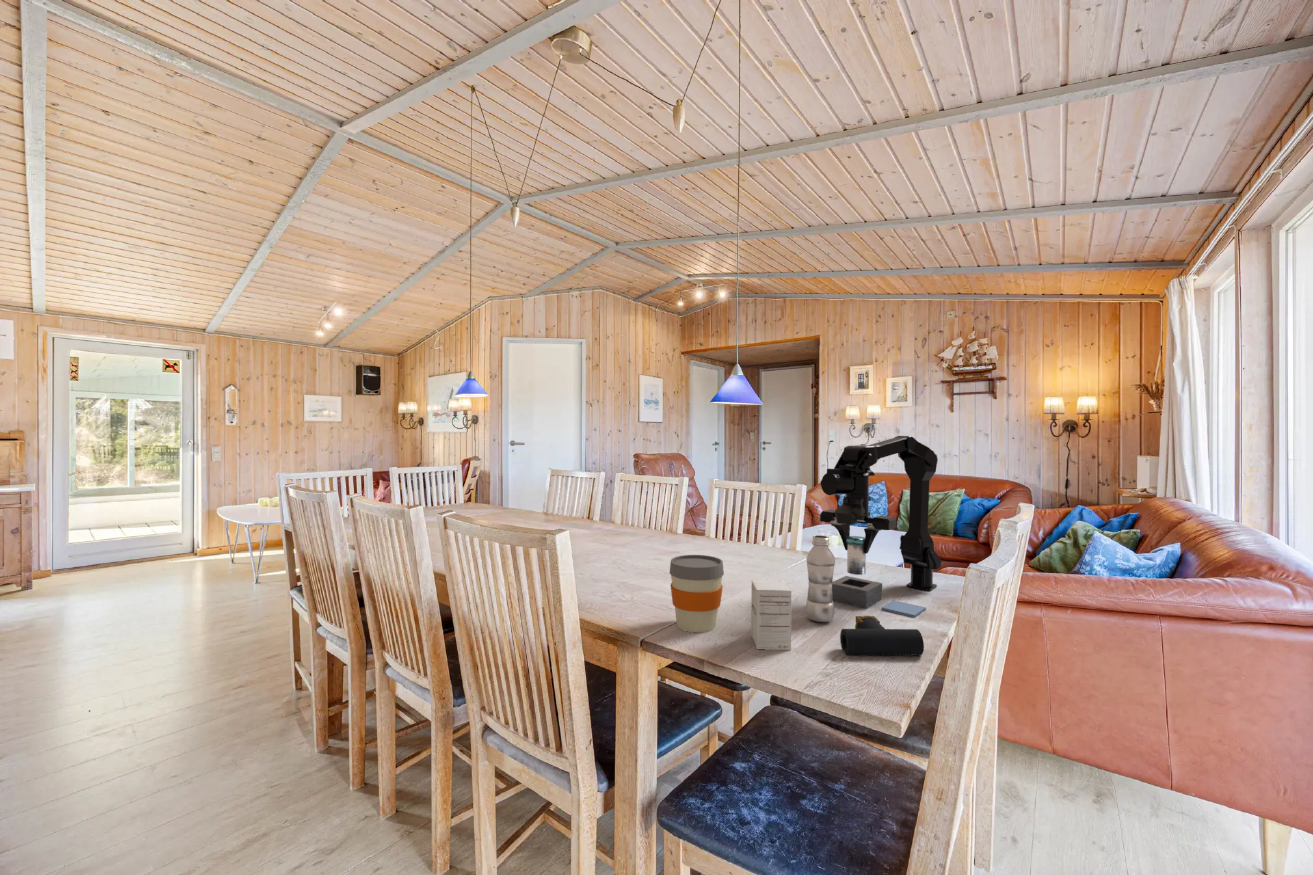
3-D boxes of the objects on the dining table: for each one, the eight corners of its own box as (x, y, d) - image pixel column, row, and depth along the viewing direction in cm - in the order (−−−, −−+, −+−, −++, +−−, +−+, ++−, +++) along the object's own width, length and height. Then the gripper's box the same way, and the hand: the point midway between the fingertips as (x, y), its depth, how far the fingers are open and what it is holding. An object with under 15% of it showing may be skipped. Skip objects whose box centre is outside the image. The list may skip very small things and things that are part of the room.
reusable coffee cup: (701, 640, 116) (701, 571, 116) (658, 625, 125) (658, 561, 125) (734, 624, 126) (734, 560, 125) (692, 612, 134) (692, 552, 134)
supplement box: (750, 636, 119) (750, 579, 118) (784, 636, 118) (784, 579, 118) (755, 650, 111) (756, 589, 111) (791, 650, 111) (792, 589, 111)
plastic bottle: (810, 613, 133) (811, 532, 133) (838, 619, 129) (839, 536, 129) (801, 621, 128) (801, 537, 128) (829, 627, 124) (830, 540, 124)
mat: (893, 602, 142) (893, 600, 142) (925, 609, 136) (925, 607, 136) (881, 609, 136) (881, 607, 136) (914, 617, 131) (914, 615, 131)
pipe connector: (830, 612, 119) (899, 613, 119) (830, 636, 120) (898, 636, 119) (848, 633, 108) (924, 634, 108) (848, 659, 108) (923, 660, 108)
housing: (845, 591, 151) (846, 575, 151) (881, 599, 144) (882, 583, 144) (829, 599, 144) (829, 583, 144) (866, 608, 137) (866, 591, 137)
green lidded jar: (851, 568, 147) (851, 535, 147) (869, 572, 144) (870, 537, 144) (842, 572, 144) (842, 537, 144) (861, 576, 140) (862, 540, 140)
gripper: (809, 492, 144) (809, 550, 144) (880, 499, 131) (879, 563, 131) (829, 489, 152) (828, 544, 152) (897, 495, 139) (896, 555, 139)
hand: (856, 551), depth 144 cm, fingers closed on green lidded jar, 5 cm apart
